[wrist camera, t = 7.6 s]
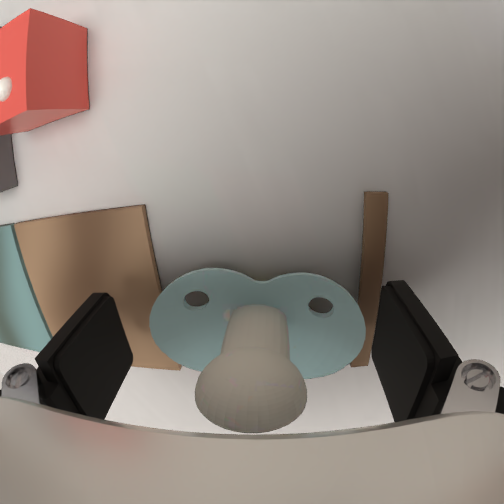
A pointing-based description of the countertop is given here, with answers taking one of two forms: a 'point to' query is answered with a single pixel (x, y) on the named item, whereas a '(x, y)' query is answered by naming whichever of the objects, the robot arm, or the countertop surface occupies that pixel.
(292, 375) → the pacifier
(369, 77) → the countertop surface
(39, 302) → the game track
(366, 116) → the countertop surface
